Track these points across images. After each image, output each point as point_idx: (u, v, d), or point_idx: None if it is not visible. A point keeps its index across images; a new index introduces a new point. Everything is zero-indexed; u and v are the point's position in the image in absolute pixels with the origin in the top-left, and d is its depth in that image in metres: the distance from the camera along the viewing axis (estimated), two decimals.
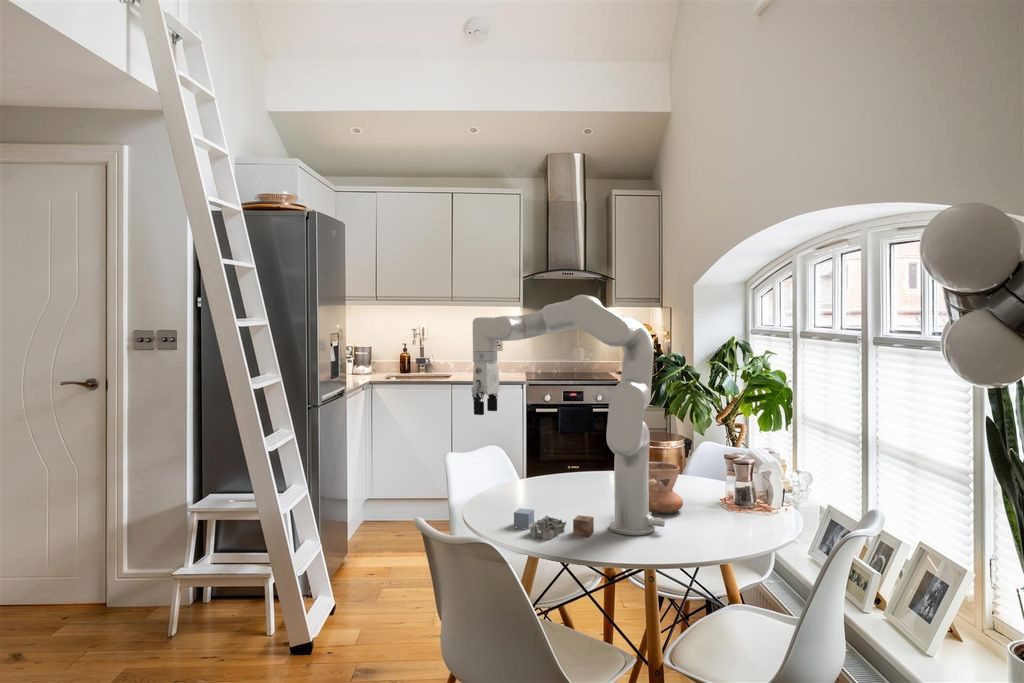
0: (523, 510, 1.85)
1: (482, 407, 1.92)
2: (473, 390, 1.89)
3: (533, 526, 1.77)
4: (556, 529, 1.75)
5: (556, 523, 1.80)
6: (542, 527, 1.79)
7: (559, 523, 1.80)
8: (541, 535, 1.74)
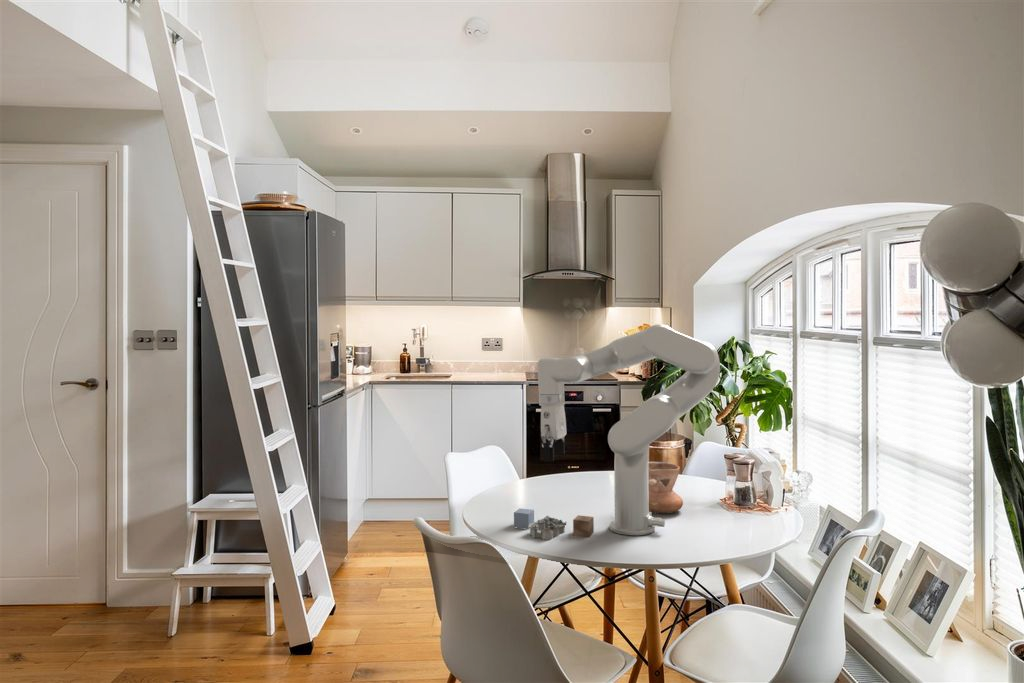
0: (523, 510, 1.85)
1: (552, 453, 1.83)
2: (543, 436, 1.80)
3: (533, 526, 1.77)
4: (556, 529, 1.75)
5: (556, 523, 1.80)
6: (542, 527, 1.79)
7: (559, 523, 1.80)
8: (541, 535, 1.74)
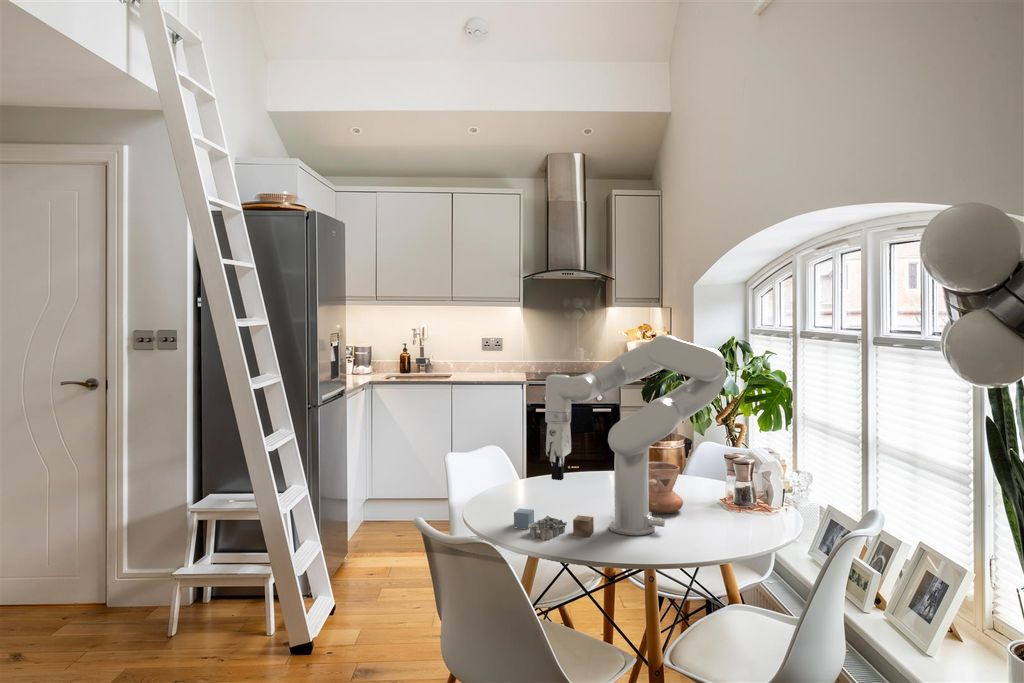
0: (523, 510, 1.85)
1: (561, 472, 1.86)
2: (552, 462, 1.83)
3: (533, 526, 1.77)
4: (556, 529, 1.75)
5: (557, 523, 1.80)
6: (542, 527, 1.79)
7: (560, 523, 1.80)
8: (540, 535, 1.74)
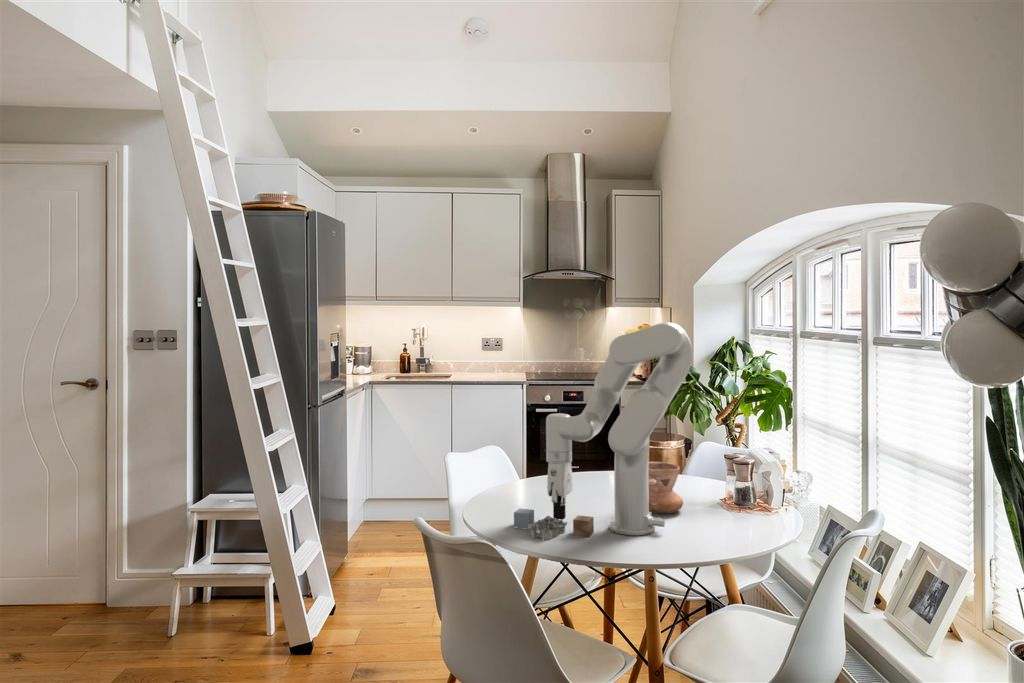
0: (523, 510, 1.85)
1: (562, 511, 1.86)
2: (554, 502, 1.83)
3: (533, 526, 1.77)
4: (556, 529, 1.75)
5: (557, 523, 1.80)
6: (543, 527, 1.79)
7: (560, 523, 1.80)
8: (540, 535, 1.74)
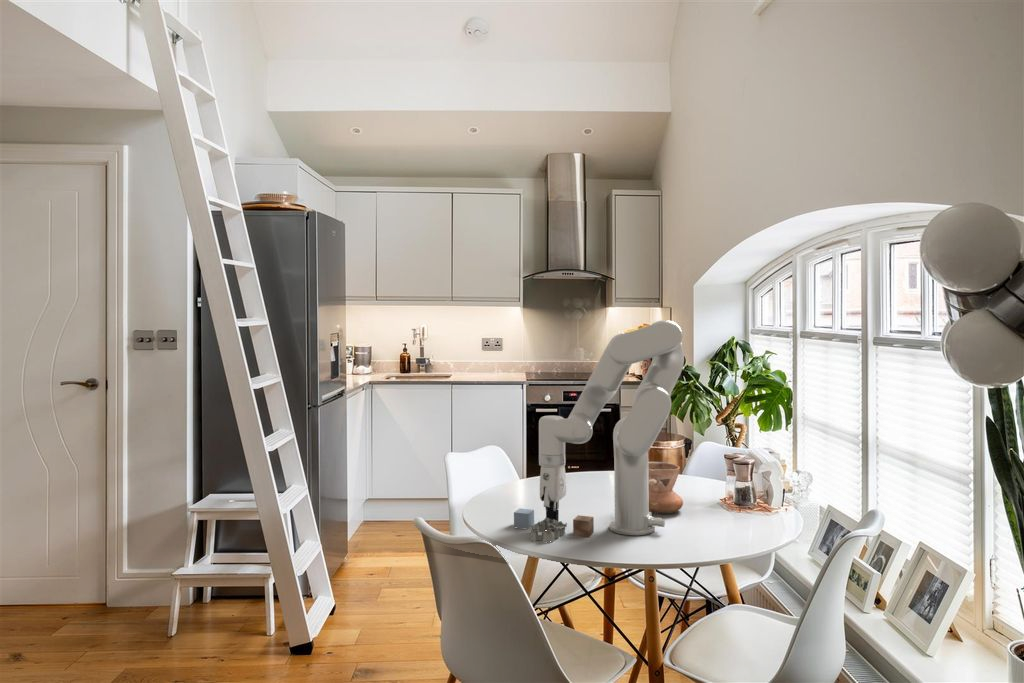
0: (523, 510, 1.85)
1: (555, 517, 1.81)
2: (546, 506, 1.78)
3: (533, 528, 1.74)
4: (557, 531, 1.73)
5: (556, 525, 1.78)
6: (542, 529, 1.77)
7: (559, 525, 1.78)
8: (542, 537, 1.71)
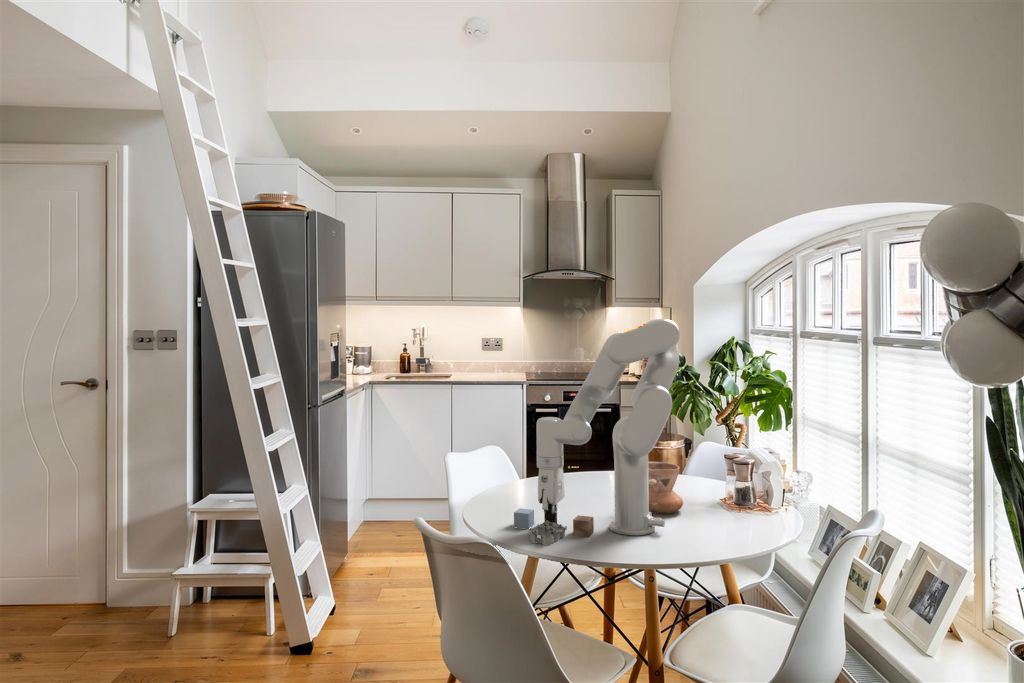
0: (523, 510, 1.85)
1: (554, 519, 1.79)
2: (544, 509, 1.75)
3: (533, 531, 1.72)
4: (556, 534, 1.71)
5: (556, 528, 1.76)
6: (542, 532, 1.75)
7: (559, 528, 1.76)
8: (541, 540, 1.69)
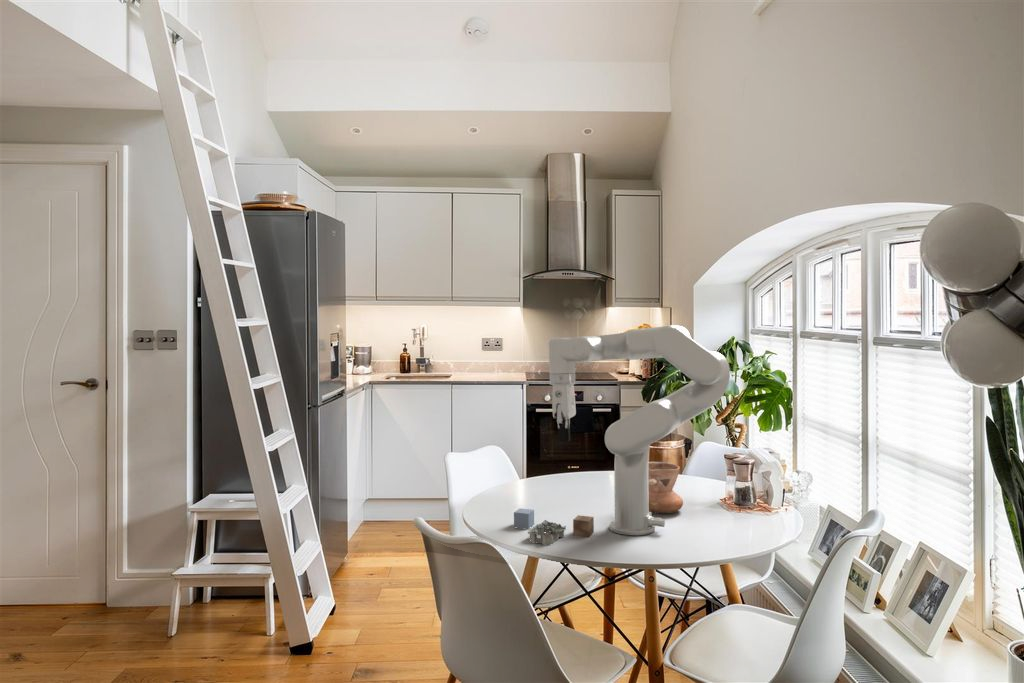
0: (523, 510, 1.85)
1: (567, 434, 1.88)
2: (559, 423, 1.84)
3: (532, 531, 1.72)
4: (556, 534, 1.71)
5: (555, 528, 1.76)
6: (541, 532, 1.75)
7: (558, 528, 1.76)
8: (541, 540, 1.69)
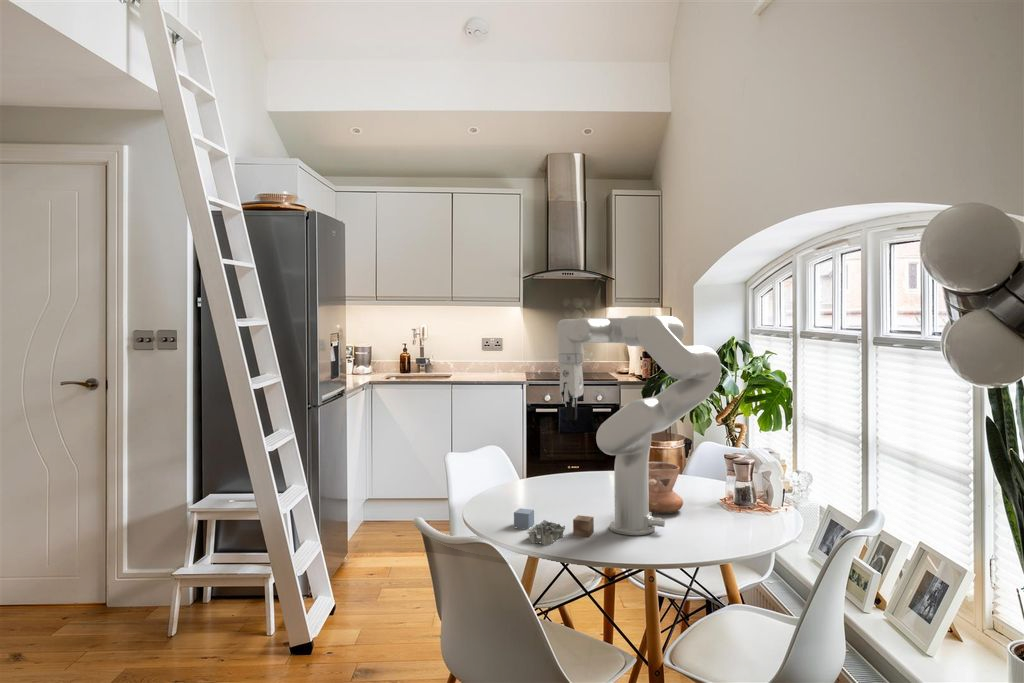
0: (523, 510, 1.85)
1: (574, 412, 1.94)
2: (566, 401, 1.90)
3: (532, 531, 1.72)
4: (555, 534, 1.71)
5: (554, 527, 1.76)
6: (540, 532, 1.75)
7: (557, 527, 1.76)
8: (540, 540, 1.69)
